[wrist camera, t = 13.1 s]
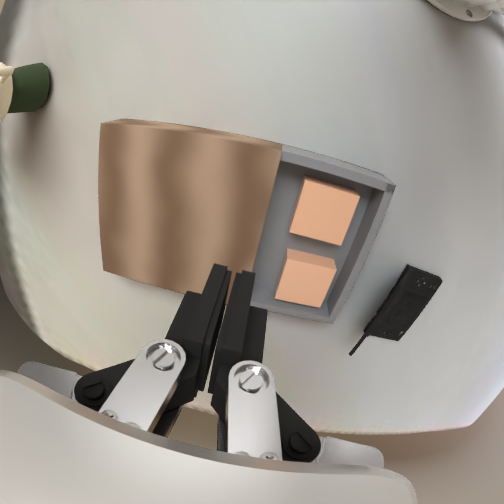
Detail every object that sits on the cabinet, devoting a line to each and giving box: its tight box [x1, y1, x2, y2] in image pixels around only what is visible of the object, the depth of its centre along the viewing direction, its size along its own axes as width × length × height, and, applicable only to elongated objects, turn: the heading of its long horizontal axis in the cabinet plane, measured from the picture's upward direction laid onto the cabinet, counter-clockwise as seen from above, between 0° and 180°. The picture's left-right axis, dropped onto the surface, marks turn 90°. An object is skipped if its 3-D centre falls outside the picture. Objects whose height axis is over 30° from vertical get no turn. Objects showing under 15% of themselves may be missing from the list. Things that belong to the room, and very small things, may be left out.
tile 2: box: [289, 174, 360, 246], centre depth 25 cm, size 5×5×2 cm
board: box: [98, 119, 282, 305], centre depth 26 cm, size 16×16×4 cm
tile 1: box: [275, 248, 337, 308], centre depth 29 cm, size 5×5×2 cm
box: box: [250, 144, 396, 324], centre depth 27 cm, size 10×16×4 cm, turn 168°
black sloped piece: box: [349, 264, 442, 356], centre depth 29 cm, size 12×7×10 cm
